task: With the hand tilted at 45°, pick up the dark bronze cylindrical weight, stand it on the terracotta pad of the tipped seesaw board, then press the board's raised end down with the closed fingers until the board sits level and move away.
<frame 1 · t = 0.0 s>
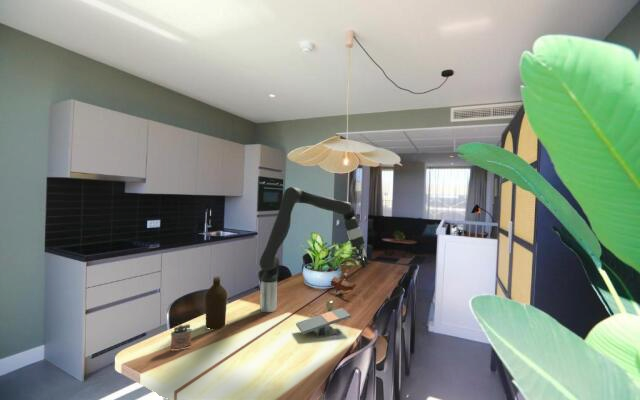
hand: (365, 266, 152), 31 cm above the table, tool tilted 20°, fingers open, 8 cm apart
seesaw board: (323, 319, 143), point 6 cm above the table, hinge at -10.0°
olive oil: (215, 326, 146), on the table
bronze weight: (329, 317, 160), on the table
pivot stand: (323, 331, 143), on the table
decorative bird: (341, 293, 201), on the table
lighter: (181, 348, 124), on the table
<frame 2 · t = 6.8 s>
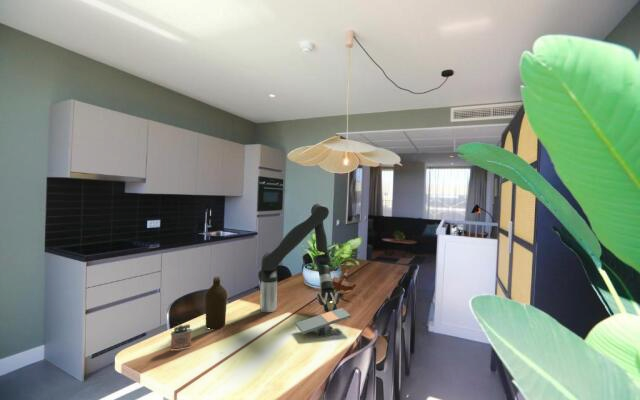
hand: (330, 311, 158), 4 cm above the table, tool tilted 45°, fingers closed on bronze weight, 4 cm apart
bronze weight: (329, 317, 160), on the table, touching gripper
everything else where it was.
when the fingers open (12 cm above the table, at t = 11.9 s): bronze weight drops 1 cm, resting on seesaw board.
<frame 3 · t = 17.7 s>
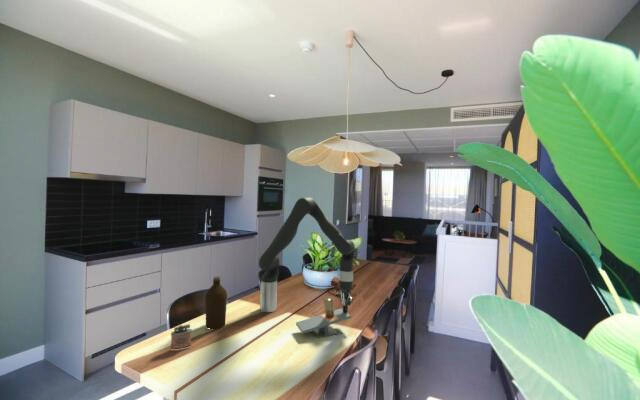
hand: (345, 312, 148), 8 cm above the table, tool pointing down, fingers closed
seesaw board: (323, 319, 143), point 6 cm above the table, hinge at -8.7°, touching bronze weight, gripper
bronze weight: (329, 316, 145), point 7 cm above the table, tilted 9°, touching seesaw board
everything else where it was.
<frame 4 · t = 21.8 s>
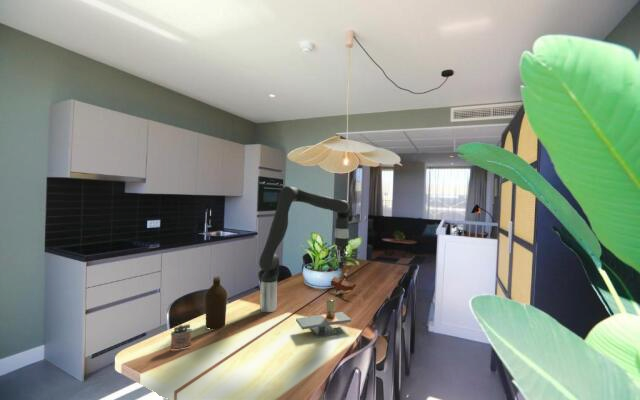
hand: (340, 268, 156), 29 cm above the table, tool pointing down, fingers closed
seesaw board: (323, 319, 143), point 6 cm above the table, hinge at 0.1°, touching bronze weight
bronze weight: (330, 317, 145), point 6 cm above the table, touching seesaw board
everything else where it was.
at the end: seesaw board at +0° (first picture: -10°); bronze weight inside the target area on the seesaw board (0.1 cm from its centre), point 1.4 cm above the seesaw board's base; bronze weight tilted 0° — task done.
